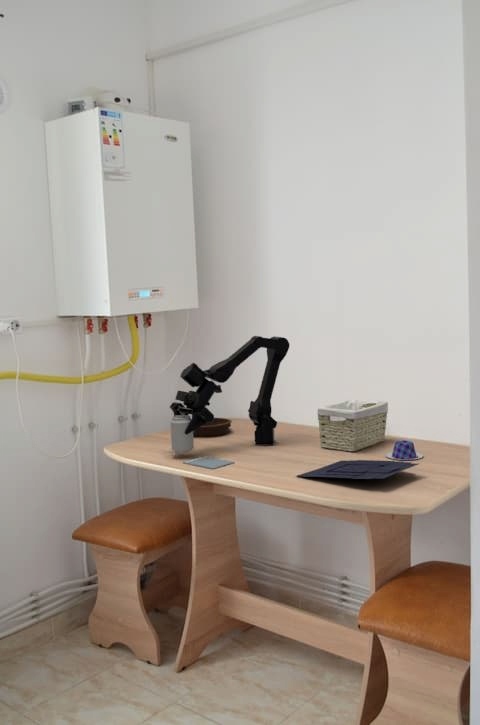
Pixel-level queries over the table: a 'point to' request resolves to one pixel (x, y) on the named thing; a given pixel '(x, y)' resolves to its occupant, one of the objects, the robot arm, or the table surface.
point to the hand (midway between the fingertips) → (178, 432)
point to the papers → (360, 469)
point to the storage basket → (352, 424)
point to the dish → (213, 428)
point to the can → (181, 434)
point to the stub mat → (208, 462)
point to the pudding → (404, 451)
